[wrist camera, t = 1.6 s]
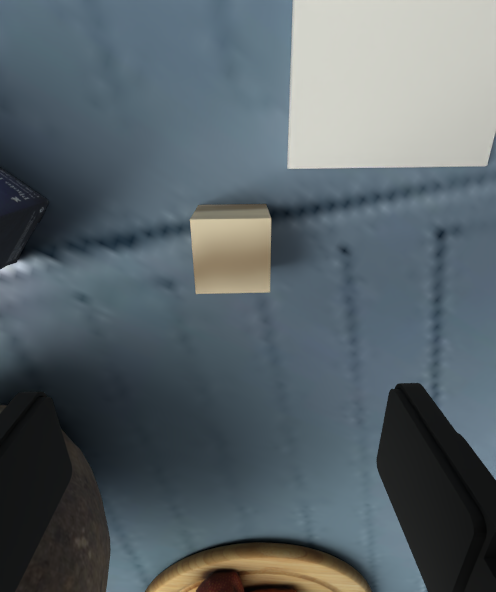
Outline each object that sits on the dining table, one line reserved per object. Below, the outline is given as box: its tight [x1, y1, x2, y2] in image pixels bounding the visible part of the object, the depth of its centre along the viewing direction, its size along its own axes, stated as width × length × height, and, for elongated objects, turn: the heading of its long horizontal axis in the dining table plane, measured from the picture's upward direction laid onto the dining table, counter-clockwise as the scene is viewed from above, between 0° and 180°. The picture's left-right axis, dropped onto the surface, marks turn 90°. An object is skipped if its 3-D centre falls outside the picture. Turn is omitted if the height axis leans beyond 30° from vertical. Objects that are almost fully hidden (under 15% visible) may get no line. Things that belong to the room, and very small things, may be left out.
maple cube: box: [190, 204, 271, 294], centre depth 25 cm, size 5×5×5 cm
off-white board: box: [287, 0, 496, 169], centre depth 22 cm, size 14×14×1 cm
